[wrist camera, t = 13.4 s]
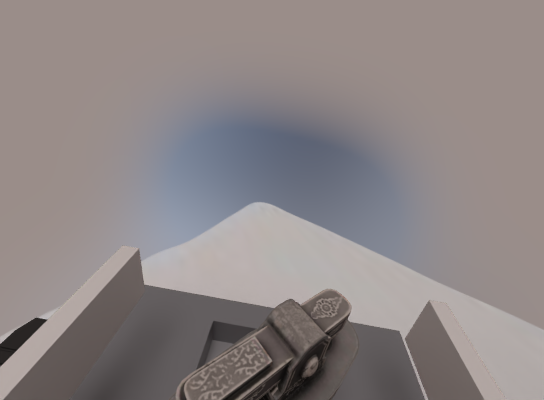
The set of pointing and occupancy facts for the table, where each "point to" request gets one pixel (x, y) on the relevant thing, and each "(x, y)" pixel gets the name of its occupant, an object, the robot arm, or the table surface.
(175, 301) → the dock
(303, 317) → the lighter
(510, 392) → the table surface
